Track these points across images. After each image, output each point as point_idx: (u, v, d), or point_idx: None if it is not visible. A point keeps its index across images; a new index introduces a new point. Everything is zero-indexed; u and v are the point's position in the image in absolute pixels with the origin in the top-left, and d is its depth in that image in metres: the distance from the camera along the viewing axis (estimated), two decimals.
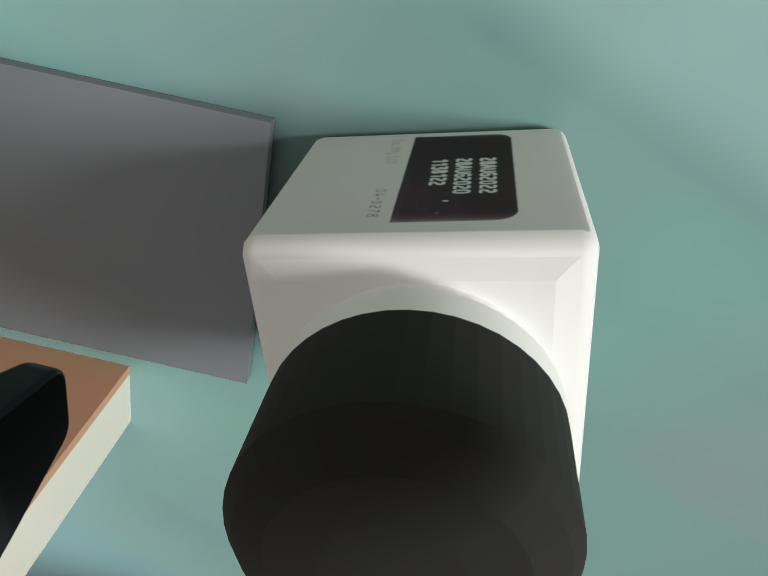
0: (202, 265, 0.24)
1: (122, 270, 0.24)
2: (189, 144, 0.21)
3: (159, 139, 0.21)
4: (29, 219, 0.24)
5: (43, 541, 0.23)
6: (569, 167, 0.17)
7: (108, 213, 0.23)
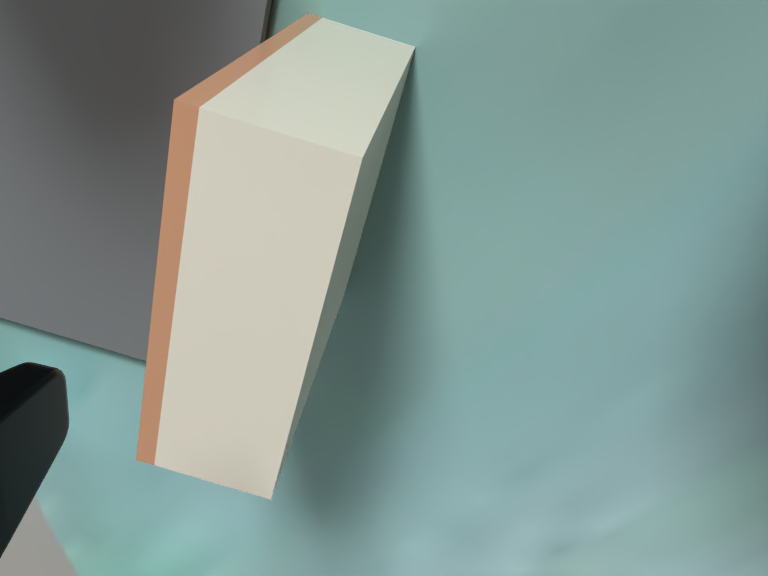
0: None
1: None
2: None
3: None
4: (71, 68, 0.19)
5: (365, 108, 0.12)
6: None
7: None
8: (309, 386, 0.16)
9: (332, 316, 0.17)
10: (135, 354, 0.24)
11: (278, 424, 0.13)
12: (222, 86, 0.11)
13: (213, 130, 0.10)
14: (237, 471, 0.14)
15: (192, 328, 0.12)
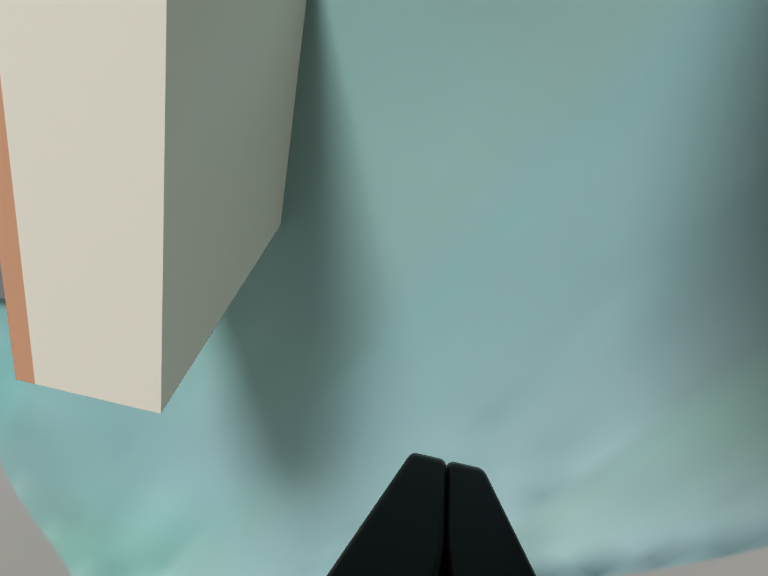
0: None
1: None
2: None
3: None
4: None
5: None
6: None
7: None
8: (213, 303, 0.15)
9: (241, 233, 0.16)
10: None
11: (149, 323, 0.12)
12: None
13: None
14: (119, 383, 0.13)
15: (37, 216, 0.11)
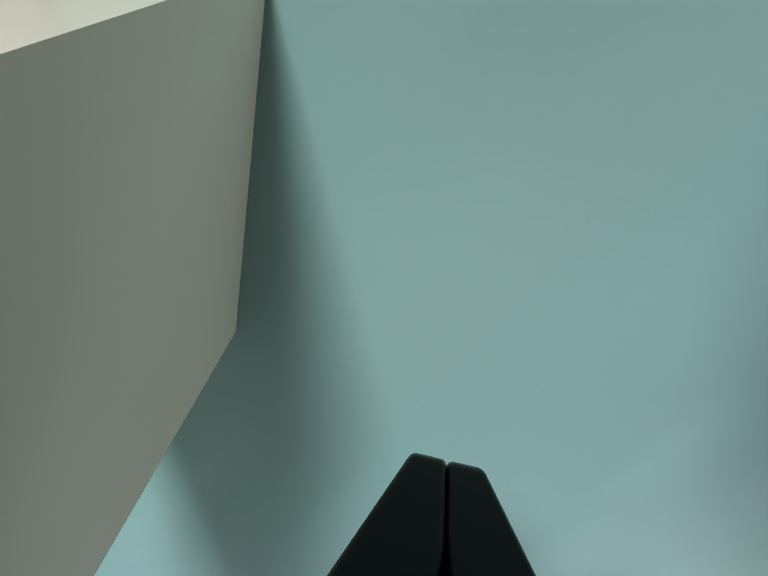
0: None
1: None
2: None
3: None
4: None
5: (31, 23, 0.06)
6: None
7: None
8: (109, 509, 0.10)
9: (160, 388, 0.11)
10: None
11: None
12: None
13: None
14: None
15: None
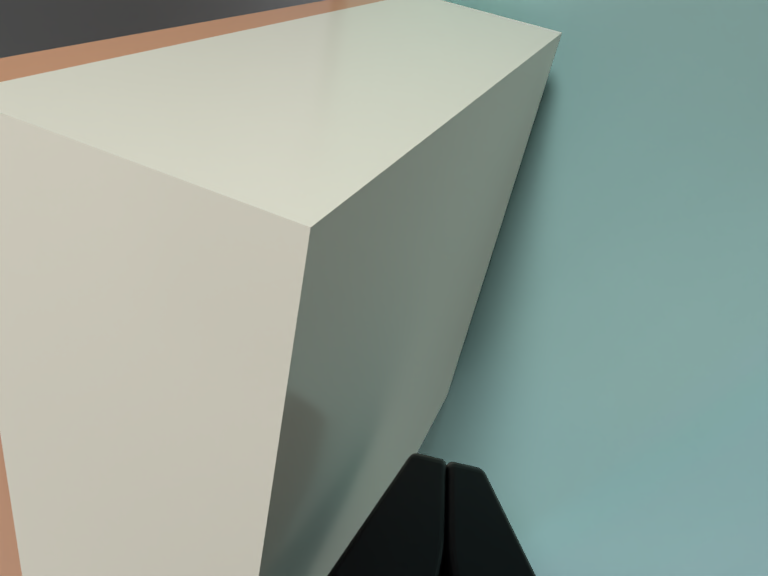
0: None
1: None
2: None
3: None
4: None
5: (406, 111, 0.06)
6: None
7: None
8: None
9: (394, 463, 0.11)
10: None
11: None
12: (87, 59, 0.05)
13: None
14: None
15: (45, 537, 0.06)
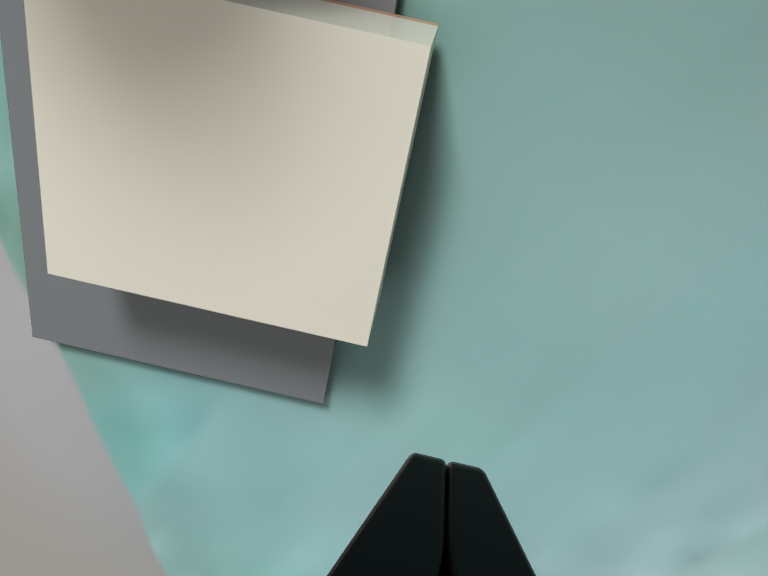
0: None
1: None
2: None
3: None
4: None
5: None
6: None
7: None
8: (148, 269, 0.18)
9: (217, 255, 0.17)
10: (251, 383, 0.23)
11: (46, 198, 0.18)
12: None
13: None
14: None
15: None
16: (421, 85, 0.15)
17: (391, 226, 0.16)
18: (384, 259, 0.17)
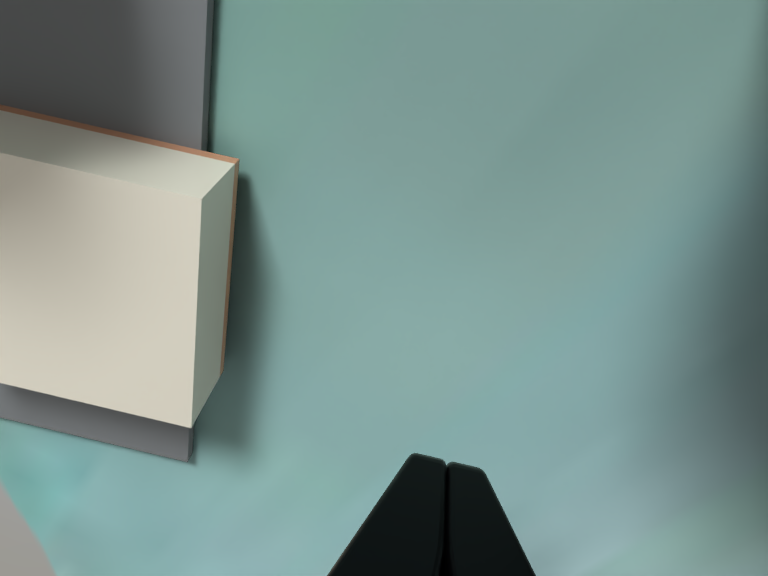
0: (31, 3, 0.18)
1: (72, 117, 0.20)
2: None
3: None
4: None
5: None
6: None
7: None
8: (1, 362, 0.21)
9: (55, 352, 0.20)
10: (124, 444, 0.26)
11: None
12: None
13: None
14: None
15: None
16: (199, 227, 0.17)
17: (194, 334, 0.19)
18: (194, 359, 0.20)
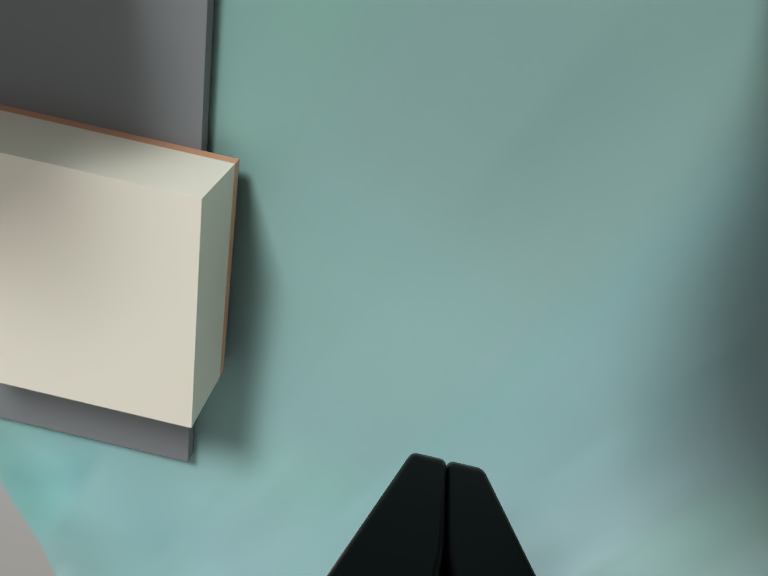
0: (31, 3, 0.18)
1: (72, 117, 0.20)
2: None
3: None
4: None
5: None
6: None
7: None
8: (1, 362, 0.21)
9: (55, 352, 0.20)
10: (124, 443, 0.26)
11: None
12: None
13: None
14: None
15: None
16: (199, 227, 0.17)
17: (194, 334, 0.19)
18: (194, 359, 0.20)
